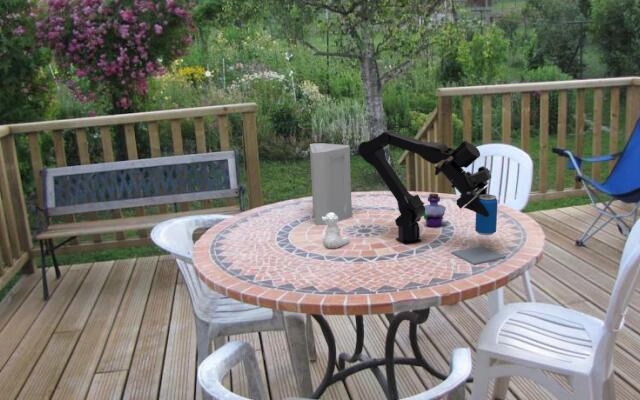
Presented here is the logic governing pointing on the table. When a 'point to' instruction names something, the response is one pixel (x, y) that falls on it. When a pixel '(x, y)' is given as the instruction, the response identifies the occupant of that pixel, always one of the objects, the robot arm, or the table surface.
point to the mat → (478, 255)
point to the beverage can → (488, 223)
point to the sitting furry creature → (333, 232)
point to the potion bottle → (434, 212)
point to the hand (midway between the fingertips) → (490, 213)
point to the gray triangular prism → (330, 181)
